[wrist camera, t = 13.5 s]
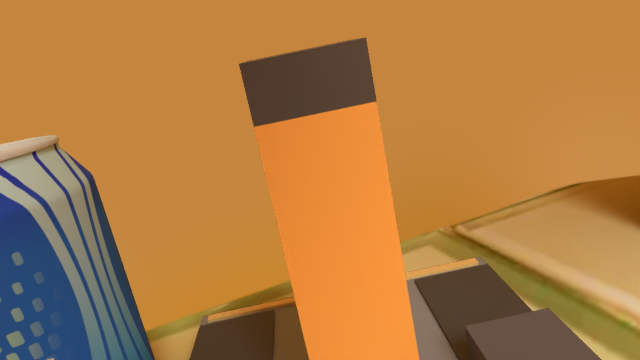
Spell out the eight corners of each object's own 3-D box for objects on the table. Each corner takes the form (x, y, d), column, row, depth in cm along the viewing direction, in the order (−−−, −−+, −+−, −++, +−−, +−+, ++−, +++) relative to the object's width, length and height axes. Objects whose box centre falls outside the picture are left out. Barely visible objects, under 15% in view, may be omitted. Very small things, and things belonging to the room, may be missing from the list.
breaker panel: (483, 283, 33) (476, 229, 32) (654, 482, 18) (652, 392, 17) (210, 342, 33) (195, 289, 32) (147, 596, 18) (113, 512, 17)
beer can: (-38, 503, 24) (-194, 195, 19) (84, 383, 31) (-9, 143, 27) (102, 521, 21) (-43, 171, 17) (197, 386, 29) (114, 121, 25)
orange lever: (406, 365, 23) (349, 40, 19) (430, 429, 19) (365, 37, 15) (322, 383, 23) (248, 60, 19) (331, 451, 19) (239, 63, 15)
